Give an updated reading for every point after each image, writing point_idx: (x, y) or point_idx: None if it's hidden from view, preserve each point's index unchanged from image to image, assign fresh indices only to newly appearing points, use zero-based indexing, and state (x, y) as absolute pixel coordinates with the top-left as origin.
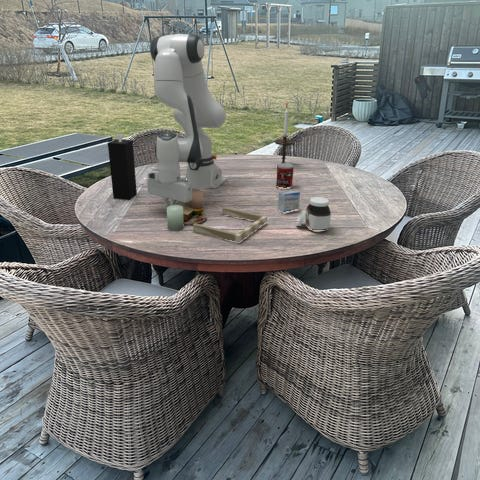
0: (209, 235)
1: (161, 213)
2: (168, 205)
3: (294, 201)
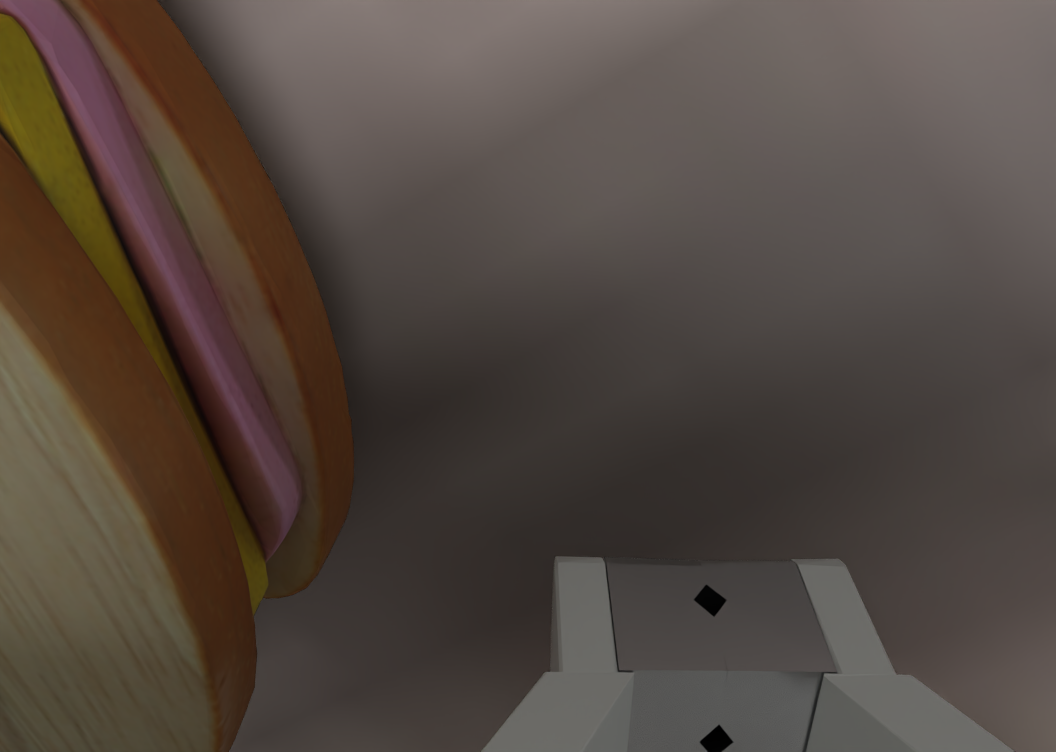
0: None
1: (938, 331)
2: (748, 639)
3: None
